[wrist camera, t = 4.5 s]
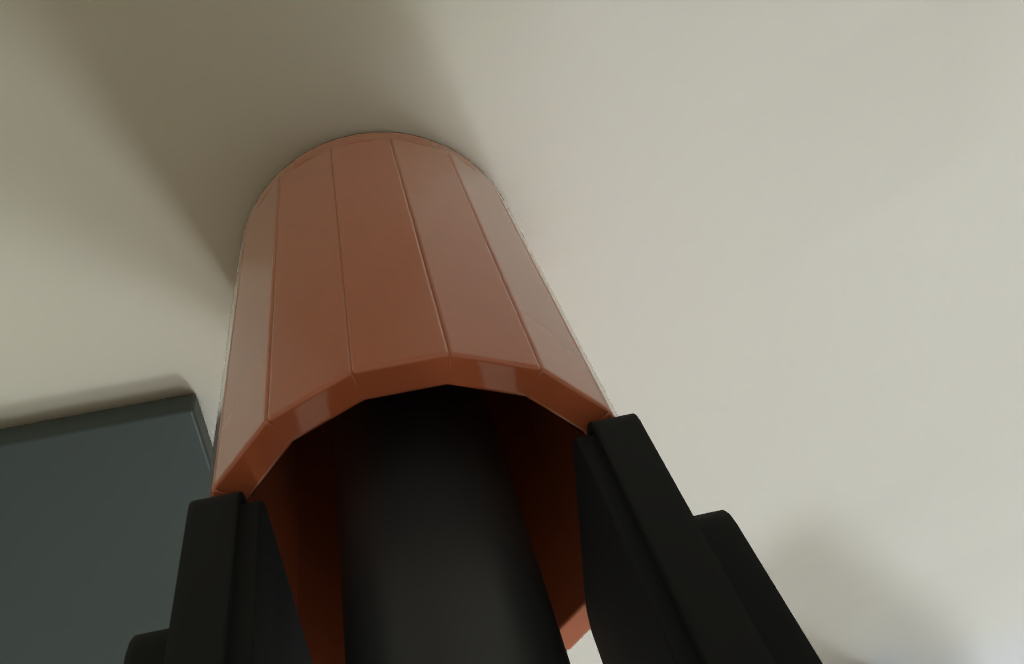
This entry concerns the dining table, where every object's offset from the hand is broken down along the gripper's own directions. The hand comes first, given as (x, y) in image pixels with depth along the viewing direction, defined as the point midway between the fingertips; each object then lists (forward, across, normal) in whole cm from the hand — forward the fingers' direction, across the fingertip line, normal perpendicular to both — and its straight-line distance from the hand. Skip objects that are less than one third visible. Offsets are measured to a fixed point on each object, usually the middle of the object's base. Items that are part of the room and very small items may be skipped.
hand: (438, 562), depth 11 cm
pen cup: (+8, 0, 0) cm, 8 cm away
